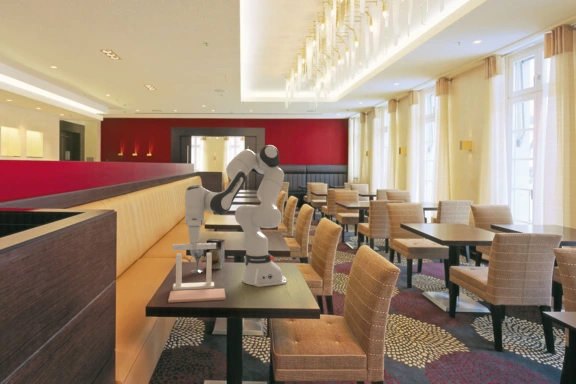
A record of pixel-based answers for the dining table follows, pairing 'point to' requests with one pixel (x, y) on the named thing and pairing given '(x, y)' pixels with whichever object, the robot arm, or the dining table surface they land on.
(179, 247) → the aluminium rail
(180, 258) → the cradle stand
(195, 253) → the wine glass
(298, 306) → the dining table surface
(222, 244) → the coffee box
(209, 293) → the terracotta board
